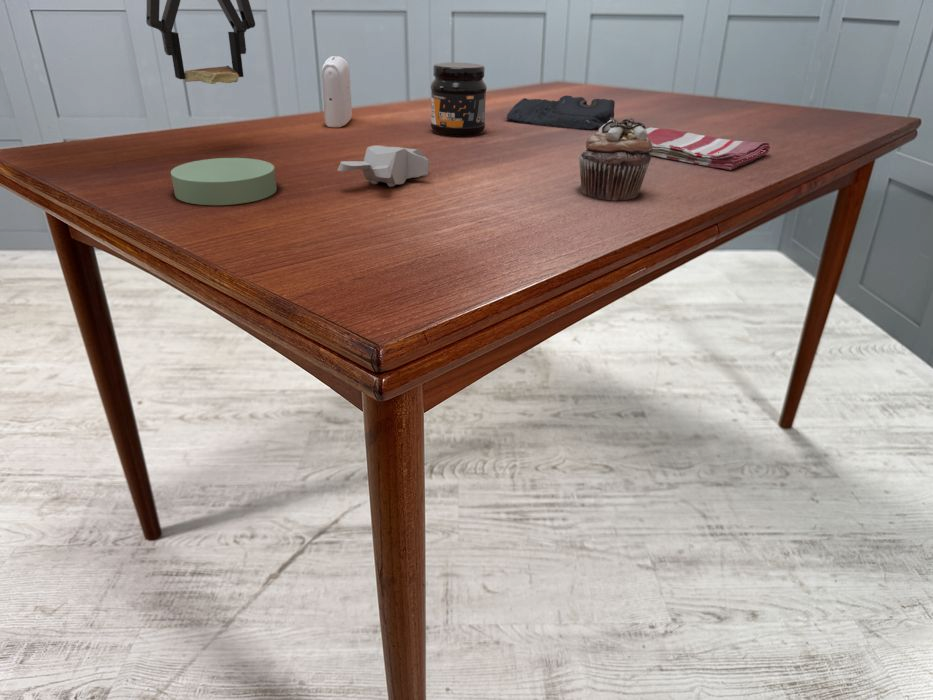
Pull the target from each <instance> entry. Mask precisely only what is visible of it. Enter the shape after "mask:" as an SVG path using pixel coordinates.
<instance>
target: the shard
mask: <svg viewBox="0 0 933 700" xmlns="http://www.w3.org/2000/svg"><path fill="white" fill-rule="evenodd" d="M184 74H185V79H184V82H186V83H189V82H190V83H191V82H201V83H205V84H210V85H215V84H217V83H222V84H223V83H224V84H231V83H237V82H238V81H239V78H240V77H239V75H238V73H237V72H236V71H235V70H234V69H233V67H230V65H225V66H216V67H204V68H196V69H189V70H184Z"/></svg>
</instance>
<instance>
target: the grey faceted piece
mask: <svg viewBox="0 0 933 700" xmlns="http://www.w3.org/2000/svg"><path fill="white" fill-rule="evenodd" d="M358 170H362V172H363V175H364V178H365V180H367V181H370V183H371V184H372V185H377V184H379V182H380V183H385V184H387V186H388V187H389V188H394V187H395V186H396V185H403V184H405V182H406V180H408V179H412V178H415V179H416V178H420V177H423V176H427V175H429V174H430V159H428V158H427V156H425V155H424V152H423V151H422V150H421V149H415V148H408V147H401V146H386V145H377V144H375V145H371V146H368V147H366V151H365V153H364V158H363V160H362V161H360V160H358V161H357V160H356V161H355V160H351V161H350V160H349V161H348V160H347V161H346V160H343V161H340V164H339V165H338V168H337V171H338V172H352V171H358Z"/></svg>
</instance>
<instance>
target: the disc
mask: <svg viewBox="0 0 933 700" xmlns="http://www.w3.org/2000/svg"><path fill="white" fill-rule="evenodd" d="M170 177H171V183H172V188H173V191H174V192H173V193H174V197H175V198H176V199H177V200H179V201H181V202H183V203H186V204H190V205H191V204H192V205H197V206H235V205H242V204H248V203H252V202H257V201H261V200H264V199H267V198H269V197H271V196H273V195H274V194H275V193H276V192H277V190H278V187H277V186H278V185H277V179H276V169H275V166H274V164H272V163H270V162H269V161H265V160H262V159H256V158H248V157H219V158H208V159H207V158H206V159H200V160H194V161H190V162H189V161H188V162H186V163H185V162H184V163H183V164H179V165H176V166H174V168H172V169H171V170H170Z"/></svg>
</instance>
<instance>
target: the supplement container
mask: <svg viewBox="0 0 933 700" xmlns="http://www.w3.org/2000/svg"><path fill="white" fill-rule="evenodd" d="M432 67H433V73H432V75H433V76H434V79H433V80H432V82H430V90H431V91H430V94H431V96H430V97H431V99H430V100H431V104H430V105H431V106H430V107H431V109H430V110H431V113H430V114H431V115H430V128H431V130H432V131H433V132H434V133H436V134H438V135H442V136H447V137H474V136H478V135H480V134H482V133H483V132H484V131H485V129H486V123H485V121H486V99H487V98H486V97H487V95H486V94H487V89H488V87H487V86H488V85H487V84H486V82H485V81H484V78H485V73H486V72H485V69H486V68H485V65H483V64H480V63H474V62H473V63H472V62H439V63H435V64H433V66H432Z"/></svg>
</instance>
